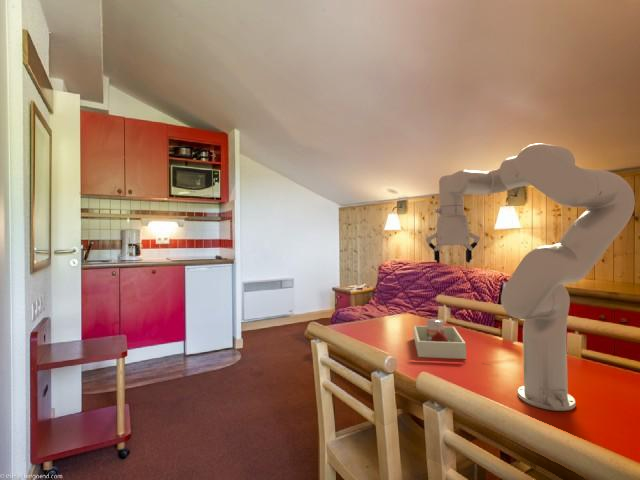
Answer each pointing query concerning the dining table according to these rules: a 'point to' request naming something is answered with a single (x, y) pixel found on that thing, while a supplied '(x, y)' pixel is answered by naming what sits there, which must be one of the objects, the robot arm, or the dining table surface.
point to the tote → (440, 344)
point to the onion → (439, 337)
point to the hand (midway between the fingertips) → (452, 262)
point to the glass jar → (434, 327)
